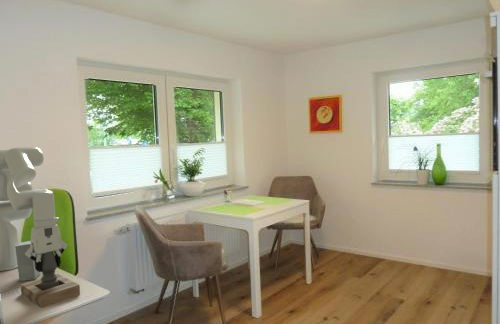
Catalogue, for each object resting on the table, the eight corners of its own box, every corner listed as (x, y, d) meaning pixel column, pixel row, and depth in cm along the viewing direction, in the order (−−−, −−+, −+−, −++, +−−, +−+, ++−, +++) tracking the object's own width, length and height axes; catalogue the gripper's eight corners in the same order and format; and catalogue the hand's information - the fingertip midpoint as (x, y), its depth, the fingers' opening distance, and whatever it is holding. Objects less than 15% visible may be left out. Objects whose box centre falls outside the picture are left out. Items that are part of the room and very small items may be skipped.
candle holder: (51, 293, 146) (46, 228, 144) (37, 292, 147) (32, 228, 146) (62, 286, 152) (57, 224, 151) (48, 286, 154) (44, 224, 152)
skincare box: (35, 280, 167) (32, 244, 165) (17, 282, 165) (14, 245, 164) (41, 273, 175) (38, 239, 174) (23, 275, 173) (21, 240, 172)
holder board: (21, 294, 151) (20, 284, 151) (58, 283, 162) (57, 273, 161) (41, 307, 138) (40, 296, 138) (80, 294, 149) (79, 284, 148)
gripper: (63, 217, 157) (66, 260, 158) (16, 226, 144) (20, 273, 145) (71, 219, 152) (75, 264, 153) (24, 229, 139) (27, 277, 140)
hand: (48, 268), depth 149 cm, fingers closed on candle holder, 6 cm apart
